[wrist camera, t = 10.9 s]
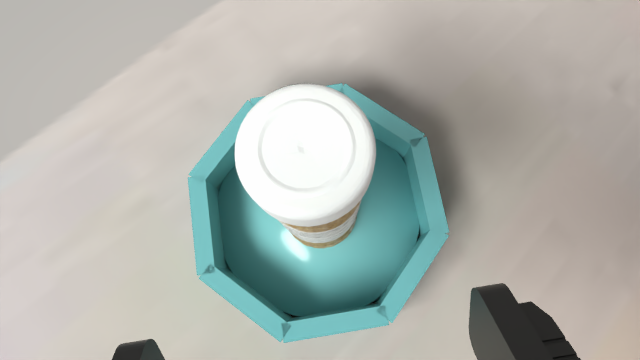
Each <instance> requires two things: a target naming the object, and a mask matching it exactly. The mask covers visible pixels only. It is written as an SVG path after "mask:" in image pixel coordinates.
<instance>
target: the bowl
mask: <svg viewBox="0 0 640 360" xmlns="http://www.w3.org/2000/svg"><path fill="white" fill-rule="evenodd" d="M327 87H330V88H333V89H335V90H337V91H339V92H341V93H343V94H344V95H346V96H348V97H349V98H350V99H351V100H353V101H354V102H355V103H356V104H357V105H358V106H359V107H360V108H361V110H362V111H363V112H364V114H365V115H366V117H367V119H368V121H369V122H370V124H371V127H372V129H373V133H374V137H375V143H376V160H375V167H374V171H373V175H372V179H371V182H370V184H369V187H368V189H367V191H366V193H365V194H364V196H363V197H362V200H361V203H360V207H359V210H358V213H357V219H356V222H355V226H354V228H353V230H352V231H351V233H350V234H349V235H348V237H347V238H345V239H344V240H343V241H342V242H340V243H338V244H336V245H335V246H332V247H328V248H313V247H310V246H306V245H304V244H302V243H301V242H300V241H298V240H297V239H296V238H295V237H293V235H292V234H291V233H290V232H289V230H287V229H286V228H285V227H284V226H283V225H282V224H281V223H280V222H279V221H278V220H277V219H275V218H274V217H272V216H270V215H269V214H268V213H266V212H265V211H264V210H263V209H262V208H261V207H260V206H259V205H258V204H257V203H256V202H255V201H254V200H253V199H252V198H251V197H250V195H249V194H248V193H247V191H246V190H245V188H244V187H243V185H242V183H241V181H240V178H239V176H238V173H237V169H236V165H235V142H236V137H237V134H238V131H239V128H240V126H241V123H242V122H243V120H244V118H245V117H246V115H247V113H248V112H249V111H250V110H251V109H252V108H253V107H254V105H255V104H256V103H258V102H259V101H260V100H261V99H262V98H264V97H265V96H264V97H258V98H252V99H250V100H251V102H249V101H248V100H247V102H246V103H245V104H244V105H243V107H242V108H241V109H240V110H239V112H238V113H237V114H236V116H235V117H234V118H233V119H232V121H231V122H230V123H229V124H228V126H227V127H226V128H225V129H224V131H223V132H222V133H221V134H220V136H219V137H218V138H217V139H216V141H215V142H214V143H213V144H212V146H211V147H210V148H209V149H208V151H207V152H206V153H205V154H204V156H203V157H202V158H201V160H200V161H199V162H198V163H197V165H196V166H195V167H194V168H193V170H192V171H191V172H190V173H189V175H190V176H192V177H188V185H189V196H190V206H191V217H192V227H193V238H194V248H195V259H196V269H197V275H200V277H199V279H200V280H201V281H203V282H204V283H205V284H206V285H208V286H209V287H210V288H212V289H213V290H214V291H215V292H217V293H218V294H219V295H220V296H222V297H223V298H224V299H226V300H227V301H228V302H229V303H231V304H232V305H233V306H235V307H236V308H237V309H238V310H240V311H241V312H242V313H244V314H245V315H246V316H247V317H249V318H250V319H251V320H253V321H254V322H255V323H256V324H258V325H259V326H260V327H261V328H263V329H264V330H265V331H267V332H268V333H269V334H270V335H272V336H273V337H274V338H276V339H277V340H278V341H279V342H281V341H282V340H283V341H284V343H286V342H292V341H298V340H304V339H310V338H316V337H321V336H327V335H333V334H339V333H345V332H351V331H357V330H363V329H369V328H374V327H380V326H386V325H389V322H388V321H390V322H391V323H392V322H393V321H394V319H395V318H396V316H397V315H398V313H399V312H400V310H401V309H402V307H403V306H404V304H405V302H406V301H407V299H408V298H409V296H410V295H411V293H412V292H413V290H414V289H415V287H416V286H417V284H418V282H419V281H420V279H421V278H422V276H423V275H424V273H425V272H426V270H427V269H428V267H429V266H430V264H431V263H432V261H433V259H434V258H435V256H436V255H437V253H438V252H439V250H440V249H441V247H442V246H443V244H444V243H445V241H446V239H447V238H448V236H449V235H447V233H449V229H448V224H447V220H446V216H445V212H444V208H443V203H442V199H441V195H440V191H439V187H438V182H437V178H436V174H435V170H434V165H433V161H432V157H431V153H430V149H429V144H428V140H427V137H423V136H424V135H425V134H424V133H422V132H421V131H419V130H418V129H416V128H415V127H413V126H411V125H410V124H408V123H407V122H405V121H404V120H402V119H400V118H399V117H397V116H396V115H394V114H392V113H391V112H389V111H388V110H386V109H385V108H383V107H381V106H380V105H378V104H377V103H375V102H374V101H372V100H370V99H369V98H367V97H366V96H364V95H362V94H361V93H359V92H358V91H356V90H355V89H353V88H351V87H350V86H348V85H347V84H345V85H344V86H343V85H342V83H340V84H334V85H328V86H327ZM418 234H419V237H418ZM417 238H418V239H417ZM229 268H230V269H231V270H230V269H229ZM377 298H378V299H377ZM376 299H377V300H376ZM374 300H376V302H375V303H373V304H369V303H371V302H373V301H374ZM289 314H291V315H296V316H297V317H292V316H291V315H289Z"/></svg>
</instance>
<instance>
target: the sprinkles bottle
mask: <svg viewBox="0 0 640 360" xmlns="http://www.w3.org/2000/svg"><path fill="white" fill-rule="evenodd" d="M375 160H376V143H375V137H374V133H373V129H372V127H371V124H370V122H369V121H368V119H367V117H366V115H365V114H364V112H363V111H362V110H361V108H360V107H359V106H358V105H357V104H356V103H355V102H354V101H353V100H351V99H350V98H349V97H348V96H346V95H344V94H343V93H341V92H339V91H337V90H335V89H333V88H330V87H327V86H322V85H317V84H295V85H290V86H286V87H283V88H280V89H278V90H276V91H273V92H272V93H270V94H268V95H267V96H265V97H264V98H262V99H261V100H260V101H259V102H258V103H256V104H255V105H254V107H253V108H252V109H251V110H250V111H249V112H248V113H247V115H246V117H245V118H244V120H243V122H242V123H241V126H240V128H239V131H238V134H237V137H236V142H235V165H236V169H237V173H238V176H239V178H240V181H241V183H242V185H243V187H244V188H245V190H246V191H247V193H248V194H249V195H250V197H251V198H252V199H253V200H254V201H255V202H256V203H257V204H258V205H259V206H260V207H261V208H262V209H263V210H264V211H265V212H266V213H268V214H269V215H270V216H272V217H274V218H275V219H277V220H278V221H279V222H280V223H281V224H282V225H283V226H284V227H285V228H286V229H287V230H289V232H290V233H291V234H292V235H293V237H295V238H296V239H297V240H298V241H300V242H301V243H302V244H304V245H306V246H310V247H313V248H328V247H332V246H335V245H336V244H338V243H340V242H342V241H343V240H344V239H345V238H347V237H348V235H349V234H350V233H351V231H352V230H353V228H354V226H355V222H356V219H357V213H358V210H359V207H360V203H361V200H362V197H363V196H364V194H365V193H366V191H367V189H368V187H369V184H370V182H371V179H372V175H373V171H374V167H375Z"/></svg>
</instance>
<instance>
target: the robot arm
mask: <svg viewBox="0 0 640 360" xmlns="http://www.w3.org/2000/svg"><path fill="white" fill-rule="evenodd" d="M469 335H470V340H471V344H472V347H473V350H474V353H475V355H476V357H477V359H478V360H581V359H580V358H578V357H577V354H576V352H575V351H574V349H573V348H572V346H571V345H570V343H569V342H568V341H566V339H565V336H564V335H563V333H562V332H561V330H560V329H559V327H558V326H557V325H556V323H555V322H554V320H553V319H552V317H550V316H549V315H548V314H547V313H545V312H544V311H543V310H541V309H540V308H539V307H538V306H536V305H535V304H534V303H532V302H526V303H520V304H518V302H517V301H516V299H515V298H514V296H513V294H512V293H511V291H510V290H509V288H508V287H507V286H506V285H505V284H503V283H500V284H494V285H488V286H482V287H476V288H472V291H471V301H470V317H469ZM112 360H165V359H164V357H163V355H162V353H161V351H160V349H159V347H158V346H157V344H156V342H155V341H154V340H153V339H148V340H142V341H136V342H129V343H123V344H120V345H119V346H118V347H117V349H116V351H115V353H114V356H113V358H112Z"/></svg>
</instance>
